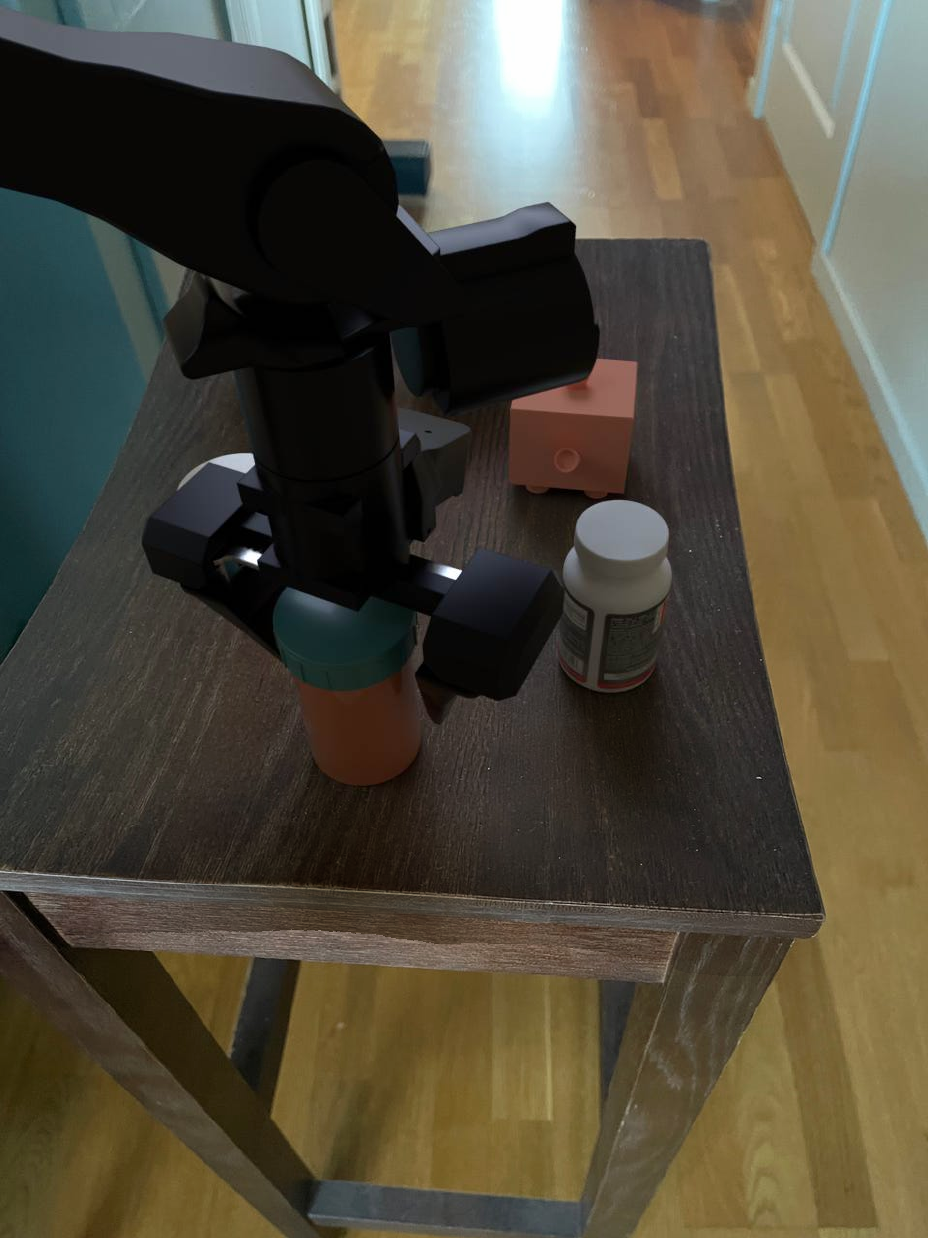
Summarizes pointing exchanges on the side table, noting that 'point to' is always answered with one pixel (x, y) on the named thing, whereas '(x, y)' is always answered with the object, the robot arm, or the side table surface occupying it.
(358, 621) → the lid
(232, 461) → the saucer
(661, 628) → the pill bottle
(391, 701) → the jar
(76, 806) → the side table surface
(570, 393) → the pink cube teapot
